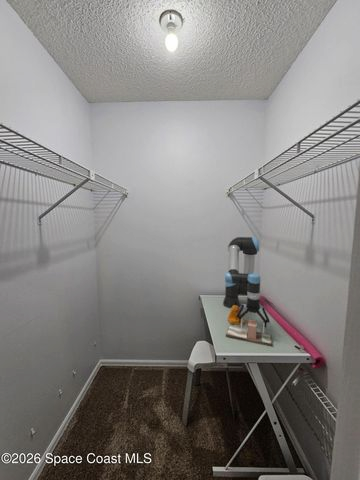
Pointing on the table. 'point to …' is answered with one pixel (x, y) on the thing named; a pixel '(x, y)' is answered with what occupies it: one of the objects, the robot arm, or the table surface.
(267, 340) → the board
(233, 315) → the bracket
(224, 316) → the table surface
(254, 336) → the stub
